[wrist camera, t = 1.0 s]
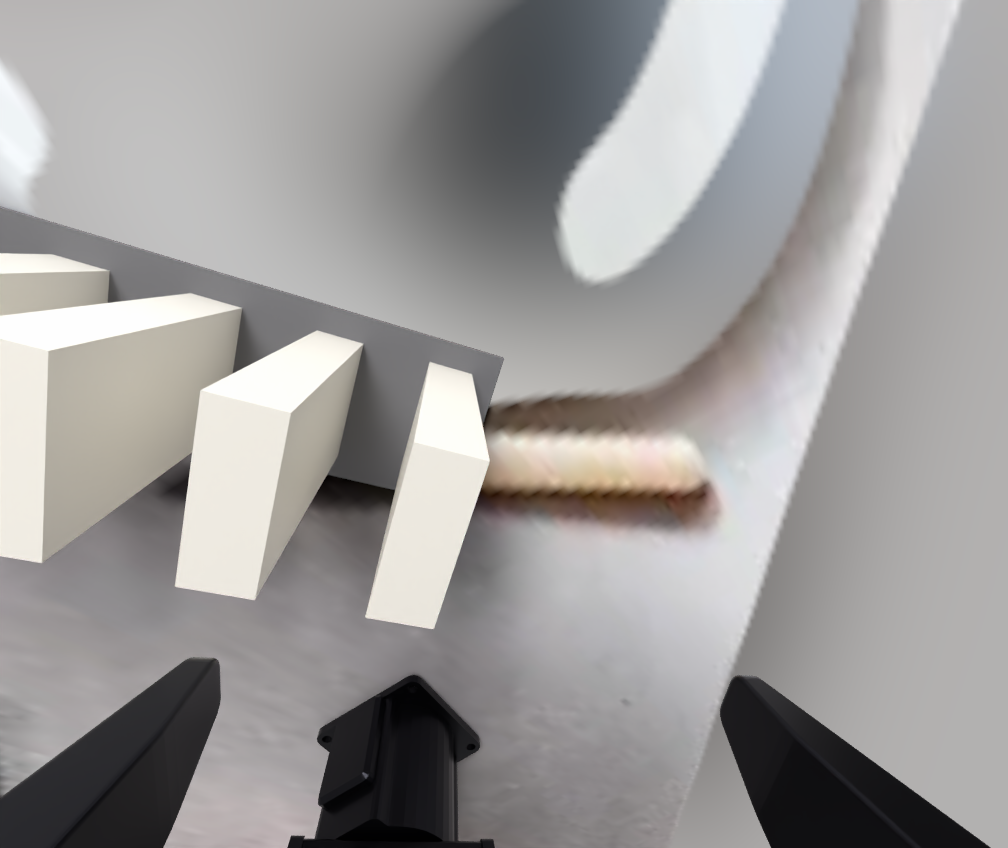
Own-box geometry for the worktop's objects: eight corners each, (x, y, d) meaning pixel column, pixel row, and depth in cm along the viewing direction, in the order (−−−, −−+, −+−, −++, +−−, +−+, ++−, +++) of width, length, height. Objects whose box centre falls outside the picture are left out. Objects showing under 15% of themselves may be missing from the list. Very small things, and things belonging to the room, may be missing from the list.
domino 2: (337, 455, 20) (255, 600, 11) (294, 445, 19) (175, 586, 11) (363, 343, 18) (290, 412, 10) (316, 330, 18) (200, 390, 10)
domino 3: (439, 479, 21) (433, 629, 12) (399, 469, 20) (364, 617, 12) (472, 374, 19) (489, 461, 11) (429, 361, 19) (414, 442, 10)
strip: (503, 357, 19) (504, 358, 19) (457, 500, 21) (457, 504, 21) (-138, 165, 15) (-149, 163, 15) (-122, 368, 17) (-131, 370, 17)
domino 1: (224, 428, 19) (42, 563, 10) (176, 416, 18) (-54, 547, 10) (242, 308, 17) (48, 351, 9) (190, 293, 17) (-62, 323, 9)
